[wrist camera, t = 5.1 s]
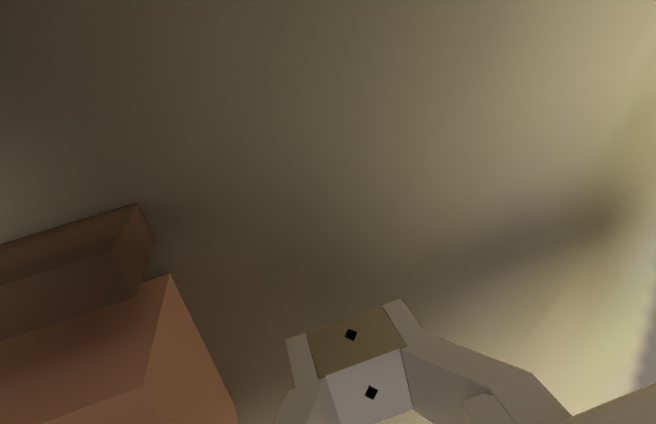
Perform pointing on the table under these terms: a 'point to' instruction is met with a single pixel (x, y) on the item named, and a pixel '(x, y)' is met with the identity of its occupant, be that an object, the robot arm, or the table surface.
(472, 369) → the robot arm
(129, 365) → the block
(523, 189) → the table surface
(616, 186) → the table surface
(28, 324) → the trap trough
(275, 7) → the table surface
